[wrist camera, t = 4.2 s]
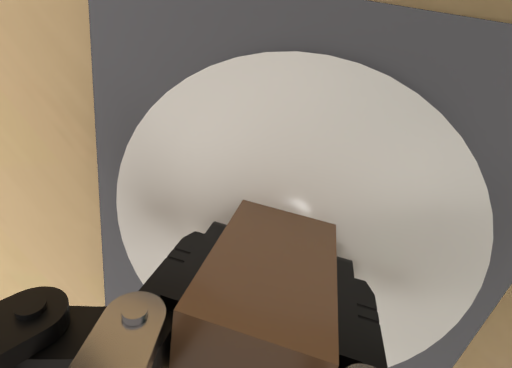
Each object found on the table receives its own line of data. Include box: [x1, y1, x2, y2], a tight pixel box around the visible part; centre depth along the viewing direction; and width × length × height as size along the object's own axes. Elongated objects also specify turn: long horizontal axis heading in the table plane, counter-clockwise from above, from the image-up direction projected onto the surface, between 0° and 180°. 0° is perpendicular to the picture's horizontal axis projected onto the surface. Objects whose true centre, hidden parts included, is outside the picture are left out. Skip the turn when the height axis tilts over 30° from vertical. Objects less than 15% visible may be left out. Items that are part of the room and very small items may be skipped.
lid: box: [116, 51, 493, 368], centre depth 9 cm, size 13×13×6 cm
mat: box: [88, 0, 512, 368], centre depth 12 cm, size 16×16×1 cm
